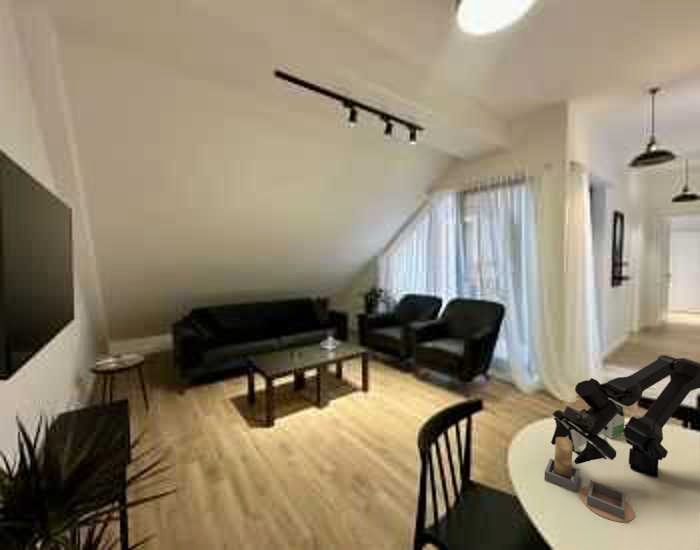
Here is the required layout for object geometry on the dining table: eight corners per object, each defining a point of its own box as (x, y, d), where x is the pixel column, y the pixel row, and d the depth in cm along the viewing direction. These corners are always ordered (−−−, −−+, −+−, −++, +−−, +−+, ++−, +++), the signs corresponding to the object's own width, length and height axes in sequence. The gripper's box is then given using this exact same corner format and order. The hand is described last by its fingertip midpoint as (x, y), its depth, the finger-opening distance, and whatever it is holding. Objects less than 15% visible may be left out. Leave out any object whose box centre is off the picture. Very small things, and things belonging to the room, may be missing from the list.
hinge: (583, 457, 112) (574, 425, 114) (568, 454, 116) (560, 424, 118) (608, 441, 120) (599, 412, 122) (593, 439, 124) (585, 411, 126)
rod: (571, 477, 103) (574, 440, 102) (569, 485, 100) (571, 447, 98) (555, 470, 106) (557, 435, 104) (552, 478, 102) (554, 441, 101)
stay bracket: (634, 501, 93) (635, 492, 93) (634, 530, 84) (635, 520, 84) (582, 481, 101) (583, 473, 101) (577, 506, 92) (577, 496, 92)
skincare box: (611, 439, 122) (614, 398, 120) (591, 429, 128) (594, 390, 126) (624, 433, 125) (627, 393, 123) (605, 424, 131) (607, 386, 129)
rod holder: (579, 476, 103) (580, 469, 103) (575, 491, 97) (576, 483, 97) (549, 465, 108) (550, 458, 108) (544, 479, 102) (544, 471, 102)
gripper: (559, 385, 110) (526, 420, 110) (610, 415, 91) (571, 457, 91) (579, 406, 112) (547, 440, 111) (633, 440, 93) (595, 480, 93)
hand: (563, 453), depth 102 cm, fingers open, 9 cm apart
